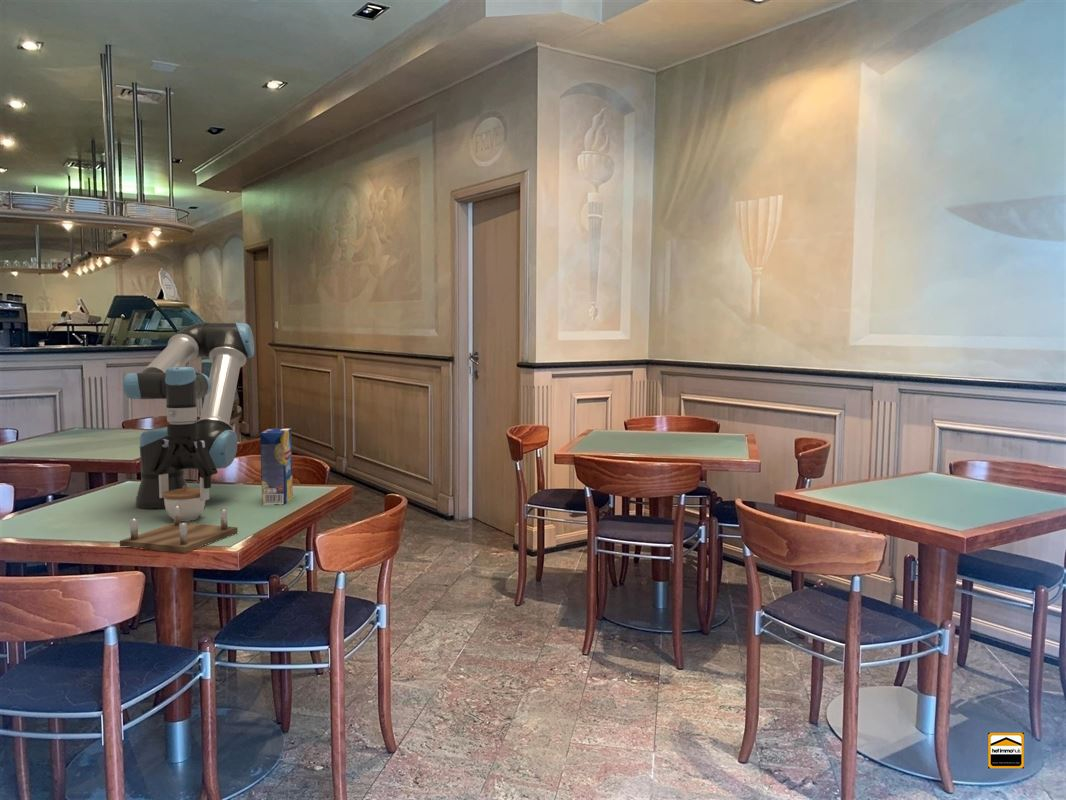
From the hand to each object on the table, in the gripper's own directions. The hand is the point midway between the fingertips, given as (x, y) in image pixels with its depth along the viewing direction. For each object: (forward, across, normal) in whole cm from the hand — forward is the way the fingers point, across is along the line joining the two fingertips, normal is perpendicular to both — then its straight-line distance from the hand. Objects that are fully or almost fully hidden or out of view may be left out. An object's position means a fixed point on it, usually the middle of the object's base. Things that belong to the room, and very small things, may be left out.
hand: (184, 498), depth 209 cm
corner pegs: (+5, +14, -18) cm, 23 cm away
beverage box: (+6, +11, +28) cm, 30 cm away
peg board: (+6, +14, -18) cm, 23 cm away
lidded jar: (+6, 0, 0) cm, 6 cm away
